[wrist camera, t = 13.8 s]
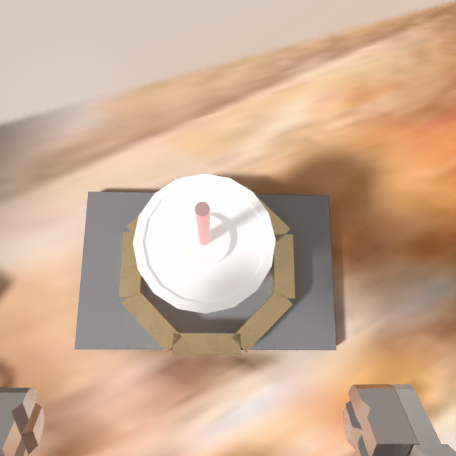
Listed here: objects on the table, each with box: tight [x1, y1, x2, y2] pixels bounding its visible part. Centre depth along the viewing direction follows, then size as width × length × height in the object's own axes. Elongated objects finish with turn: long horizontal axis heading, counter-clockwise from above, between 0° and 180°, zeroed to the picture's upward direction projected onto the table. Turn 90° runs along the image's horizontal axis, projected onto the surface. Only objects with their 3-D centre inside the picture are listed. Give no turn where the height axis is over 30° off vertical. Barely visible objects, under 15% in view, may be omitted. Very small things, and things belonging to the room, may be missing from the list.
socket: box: [119, 183, 295, 355], centre depth 26 cm, size 10×10×2 cm
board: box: [75, 192, 336, 350], centre depth 27 cm, size 16×10×1 cm, turn 90°
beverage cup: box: [133, 174, 276, 314], centre depth 20 cm, size 6×6×14 cm
